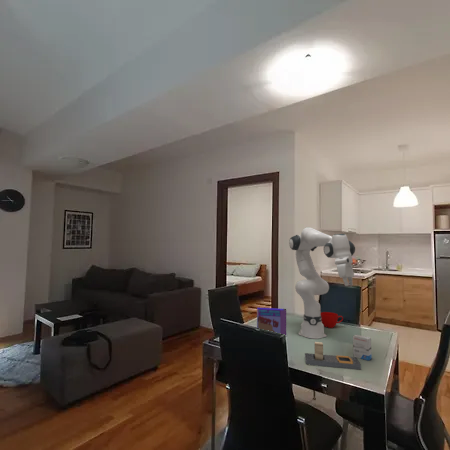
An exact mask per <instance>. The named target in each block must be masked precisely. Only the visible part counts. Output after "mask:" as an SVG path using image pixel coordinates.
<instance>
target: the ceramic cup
mask: <svg viewBox="0 0 450 450" xmlns="http://www.w3.org/2000/svg"><path fill="white" fill-rule="evenodd" d="M339 318H341V320H339ZM338 320H339V321H338ZM343 320H344V317H343V316H342V315H338V313H335V312H330V311H323V312H322V311H321V322H322V323H323V325H324V328H327V327H328V329H333V327H335V326H336V325H337V324H340V323H341V322H343Z"/></svg>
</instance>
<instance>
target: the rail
mask: <svg viewBox="0 0 450 450" xmlns="http://www.w3.org/2000/svg"><path fill="white" fill-rule="evenodd" d="M304 360H305V365H306V364H310V365H309V366H315V365H318V367H326V366H327V367H328V368H336V369H337V368H340V369H350V370H360V371H361V370H362V365H361V363H360V361H359V358H357V357H354V356H348V355H347V356H346V355H339V354H338V355H337V354H336V355H331V354H323V360H321V359H315V353H304ZM327 367H326V368H327Z"/></svg>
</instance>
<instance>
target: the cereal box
mask: <svg viewBox="0 0 450 450" xmlns="http://www.w3.org/2000/svg"><path fill="white" fill-rule="evenodd" d="M257 328H260V329H264V330H269V331H273V332H277V333H281V334H285V335H286V336H287V308H279V307H278V308H275V307H274V308H273V307H257V308H256V329H257Z"/></svg>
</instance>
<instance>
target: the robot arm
mask: <svg viewBox="0 0 450 450" xmlns="http://www.w3.org/2000/svg"><path fill="white" fill-rule="evenodd" d="M288 240H289V242H288V245H289V248H290V250H292V251H295V261H296V265H297V268H298V272H299V274H300V275H301V276H302V277H304V278H305V279H302V280H301V279H300V280H299V281H297V282H296V283H295V287H294V288H295V291H296V293H297V295H298V296H300V297H301V298H300V299H301V300H302V301H303V321H302V322H301V323H300V330H299V332H298V336H301V337H305V338H309V339H315V340H316V339H323V338H327V334H326V333H325V326H324V325H323V323H322V321H321V313H322V311H321V309H322V308H321V304H320V302H318V301H317V300H316V299H315V296H321V295H325V294H327V293H328V292H329V290H330V284H329V283H328V281H326V280H325V279H323V278H322V277H321V276H320V275H319V273H318V272H317V270H316V267H315V264H314V262H313V259H312V256H311V252H314V251H315V250H316V249H317V248H318V247H323V252H324V253H323V254H324V255H325V256H326V257H327V258H330V259H333V258H334V264H335V265H336V269H337V274H338V277H339V278H340V279H342V281H343V283H344V286H345V287H348V286H353V285H354V284H353V283H354V282H353V278H354V277H355V273H354V268H353V265H352V264H353V263H354V260H353V256H354V254H355V252H356V246H355V244H354V243H353V242H352V241H351V240H349V238H348V235H347V234H345V233H335V234H333V235H329V234H328V233H327V234H326V233H324V232H323V231H319V230H318V229H317V228H316V229H315V228H313V227H310V226H308V227H307V226H306V227H305V228H303V229H302V230H301V233H300V234H299V235H298V234H295V235H293V236H291V237H290V238H289V239H288Z"/></svg>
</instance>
